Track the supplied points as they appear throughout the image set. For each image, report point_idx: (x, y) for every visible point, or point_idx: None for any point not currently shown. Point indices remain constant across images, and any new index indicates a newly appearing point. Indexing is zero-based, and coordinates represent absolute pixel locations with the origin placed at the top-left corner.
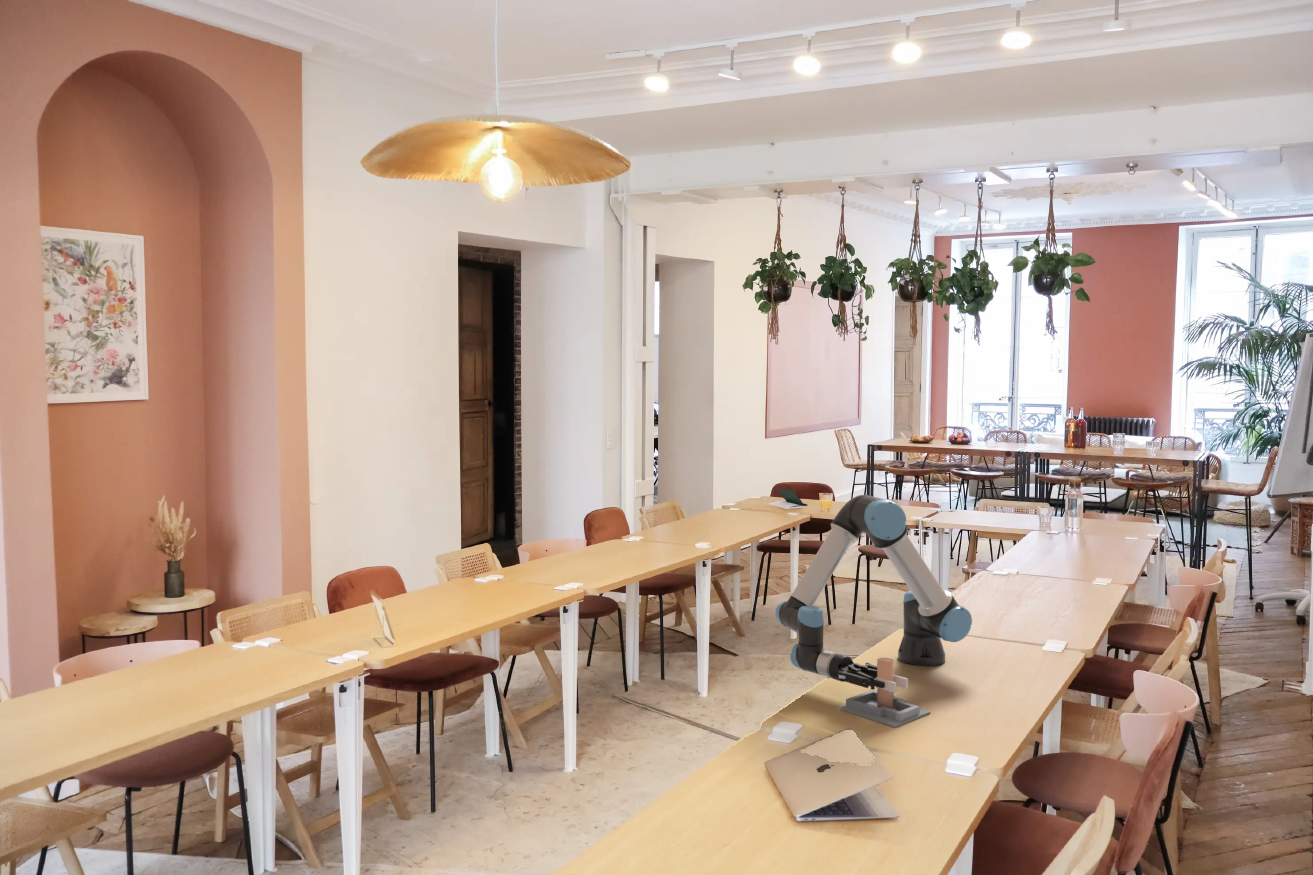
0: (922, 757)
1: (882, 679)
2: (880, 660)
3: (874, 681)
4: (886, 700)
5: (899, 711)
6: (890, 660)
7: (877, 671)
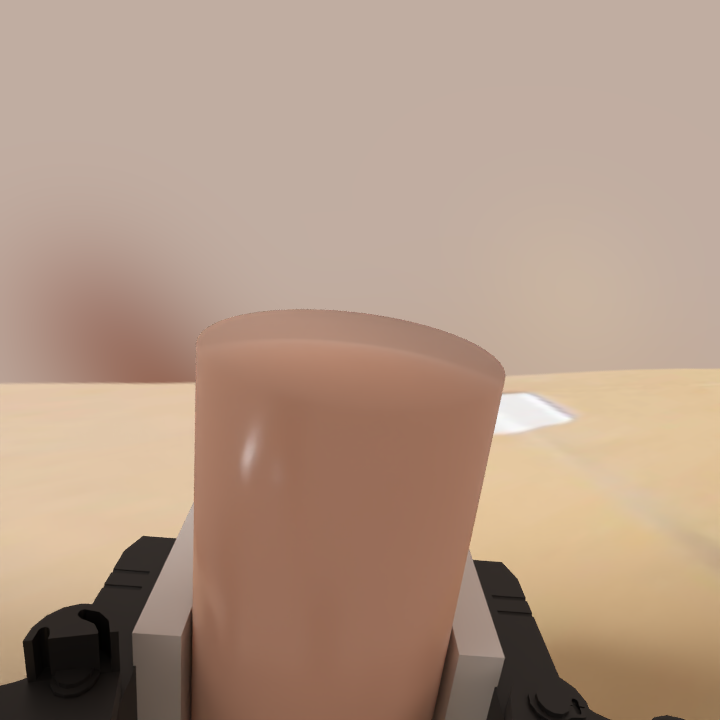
0: (582, 467)
1: (470, 561)
2: (449, 374)
3: (551, 672)
4: None
5: None
6: (309, 325)
7: (451, 597)
